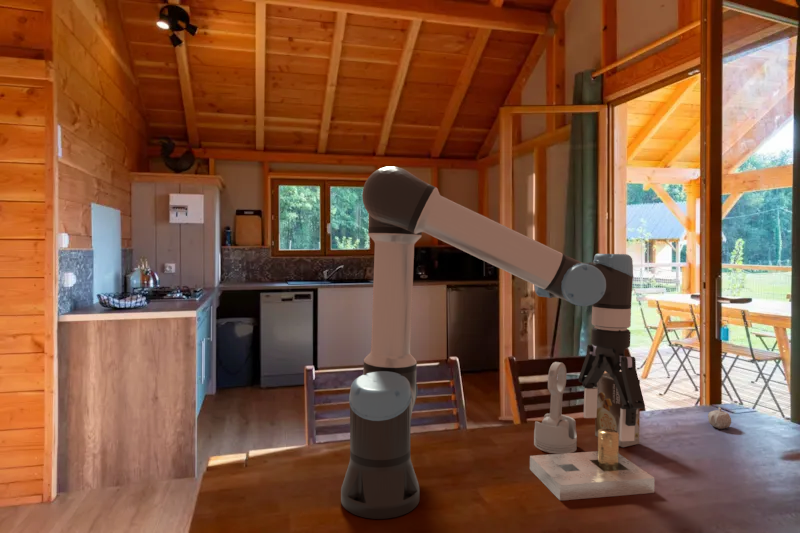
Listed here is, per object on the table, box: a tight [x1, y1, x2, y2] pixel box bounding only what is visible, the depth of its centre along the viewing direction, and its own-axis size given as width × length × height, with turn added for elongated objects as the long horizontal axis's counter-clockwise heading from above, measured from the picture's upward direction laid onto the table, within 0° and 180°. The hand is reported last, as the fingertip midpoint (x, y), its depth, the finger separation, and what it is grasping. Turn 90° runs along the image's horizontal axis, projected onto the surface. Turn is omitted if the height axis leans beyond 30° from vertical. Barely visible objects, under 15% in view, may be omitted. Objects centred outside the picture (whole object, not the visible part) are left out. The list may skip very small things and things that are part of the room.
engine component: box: [533, 361, 578, 454], centre depth 124 cm, size 11×20×10 cm
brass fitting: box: [597, 429, 620, 471], centre depth 106 cm, size 4×4×10 cm
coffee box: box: [594, 372, 641, 448], centre depth 127 cm, size 9×6×16 cm
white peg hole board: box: [529, 450, 655, 501], centre depth 105 cm, size 20×14×3 cm
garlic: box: [707, 406, 732, 430], centre depth 137 cm, size 6×5×5 cm
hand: (607, 428), depth 105 cm, fingers open, 13 cm apart
